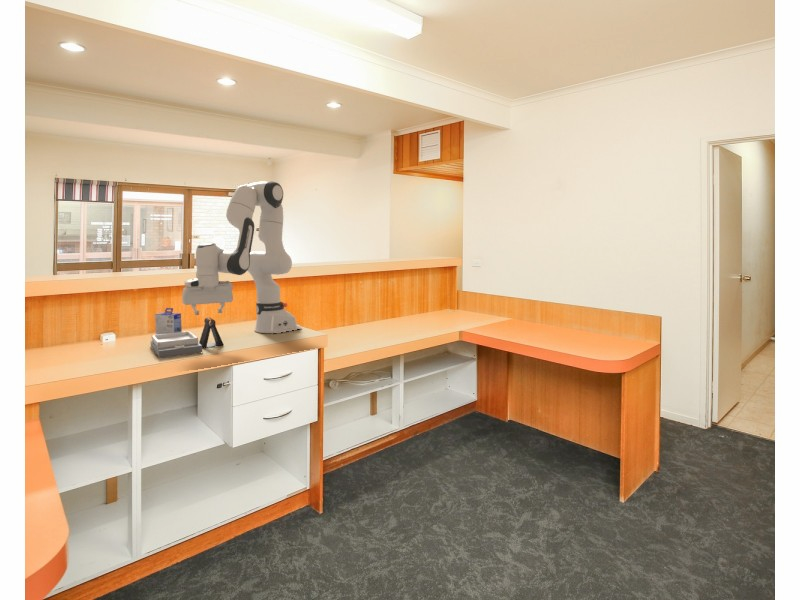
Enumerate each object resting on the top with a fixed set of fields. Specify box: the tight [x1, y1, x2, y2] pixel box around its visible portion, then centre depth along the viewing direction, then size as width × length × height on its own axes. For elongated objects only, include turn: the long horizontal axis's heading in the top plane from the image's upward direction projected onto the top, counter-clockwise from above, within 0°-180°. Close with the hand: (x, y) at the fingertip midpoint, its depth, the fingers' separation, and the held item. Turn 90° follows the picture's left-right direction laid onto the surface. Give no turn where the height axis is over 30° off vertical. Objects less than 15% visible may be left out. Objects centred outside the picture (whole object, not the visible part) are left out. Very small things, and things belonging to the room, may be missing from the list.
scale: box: [150, 330, 203, 359], centre depth 203 cm, size 16×20×5 cm
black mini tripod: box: [198, 317, 224, 349], centre depth 211 cm, size 9×6×12 cm, turn 126°
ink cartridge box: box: [154, 307, 183, 335], centre depth 220 cm, size 10×6×14 cm, turn 79°
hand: (208, 313), depth 209 cm, fingers open, 8 cm apart
